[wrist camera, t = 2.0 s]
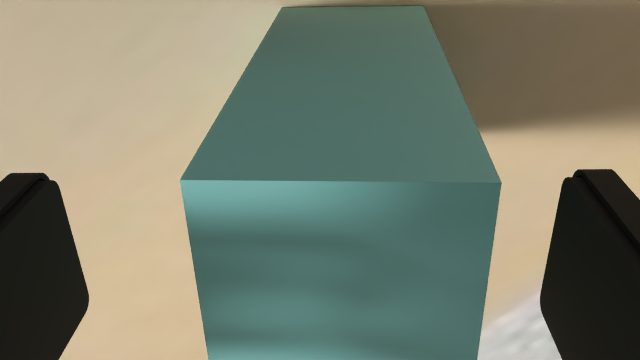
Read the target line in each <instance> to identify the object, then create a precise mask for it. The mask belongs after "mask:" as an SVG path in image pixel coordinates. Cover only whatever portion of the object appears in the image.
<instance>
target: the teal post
mask: <svg viewBox="0 0 640 360" xmlns="http://www.w3.org/2000/svg"><path fill="white" fill-rule="evenodd" d="M180 184H181V190H182V196H183V202H184V209H185V215H186V221H187V227H188V234H189V240H190V246H191V252H192V259H193V265H194V271H195V278H196V284H197V290H198V296H199V303H200V309H201V315H202V321H203V328H204V334H205V340H206V346H207V353H208V359H209V360H477V356H478V349H479V341H480V334H481V327H482V320H483V312H484V305H485V298H486V291H487V284H488V276H489V269H490V262H491V255H492V247H493V240H494V233H495V226H496V219H497V211H498V204H499V197H500V190H501V180H500V178H499V176H498V174H497V171H496V169H495V167H494V165H493V162H492V160H491V158H490V156H489V153H488V151H487V149H486V146H485V144H484V142H483V140H482V137H481V135H480V133H479V131H478V128H477V126H476V124H475V122H474V119H473V117H472V115H471V113H470V110H469V108H468V106H467V103H466V101H465V99H464V97H463V94H462V92H461V90H460V88H459V85H458V83H457V81H456V79H455V76H454V74H453V72H452V69H451V67H450V65H449V63H448V60H447V58H446V56H445V54H444V51H443V49H442V47H441V45H440V42H439V40H438V38H437V35H436V33H435V31H434V29H433V26H432V24H431V22H430V20H429V17H428V15H427V13H426V11H425V8H424V6H360V7H284V8H281V10H280V12H279V13H278V15H277V17H276V18H275V20H274V22H273V23H272V25H271V27H270V28H269V30H268V32H267V34H266V35H265V37H264V39H263V40H262V42H261V44H260V45H259V47H258V49H257V50H256V52H255V54H254V56H253V57H252V59H251V61H250V62H249V64H248V66H247V67H246V69H245V71H244V72H243V74H242V76H241V78H240V79H239V81H238V83H237V84H236V86H235V88H234V89H233V91H232V93H231V94H230V96H229V98H228V100H227V101H226V103H225V105H224V106H223V108H222V110H221V111H220V113H219V115H218V116H217V118H216V120H215V122H214V123H213V125H212V127H211V128H210V130H209V132H208V133H207V135H206V137H205V139H204V140H203V142H202V144H201V145H200V147H199V149H198V150H197V152H196V154H195V155H194V157H193V159H192V161H191V162H190V164H189V166H188V167H187V169H186V171H185V172H184V174H183V176H182V177H181V179H180Z"/></svg>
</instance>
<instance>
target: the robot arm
mask: <svg viewBox="0 0 640 360" xmlns="http://www.w3.org/2000/svg"><path fill="white" fill-rule="evenodd" d="M88 303H89V294H88V290H87V286H86V282H85V279H84V275H83V272H82V268H81V264H80V261H79V257H78V254H77V250H76V246H75V243H74V239H73V235H72V232H71V228H70V225H69V221H68V217H67V214H66V210H65V207H64V203H63V199H62V196H61V192H60V189H59V186H58V184H57V183H56V182H55V181H53V180H50V179H49V178H48V176H47V175H46V174H44V173H11V174H9V175H7V176H6V177H5V178H4V179H3V180H2V181H1V182H0V360H59V358H60V356H61V355H62V353H63V351H64V349H65V348H66V346H67V344H68V342H69V341H70V339H71V337H72V336H73V334H74V332H75V330H76V329H77V327H78V325H79V323H80V322H81V320H82V318H83V317H84V315H85V313H86V311H87V308H88ZM540 306H541V311H542V314H543V317H544V319H545V321H546V324H547V326H548V328H549V330H550V333H551V335H552V337H553V340H554V342H555V344H556V346H557V349H558V351H559V353H560V355H561V358H562V360H640V200H639V199H638V197H637V196H636V195H635V194H634V193H633V192H632V191H631V190H630V188H629V187H628V186H627V185H626V184H625V183H624V182H623V180H622V179H621V178H620V177H619V176H618V175H617V174H616V173H615V172H614V171H613V170H612V169H583V170H577V171H576V172H575V173H574V175H573V177H567V178H565V179H564V181H563V184H562V187H561V193H560V198H559V203H558V208H557V213H556V218H555V223H554V228H553V233H552V238H551V243H550V248H549V253H548V258H547V264H546V269H545V274H544V279H543V284H542V289H541V295H540Z"/></svg>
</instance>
